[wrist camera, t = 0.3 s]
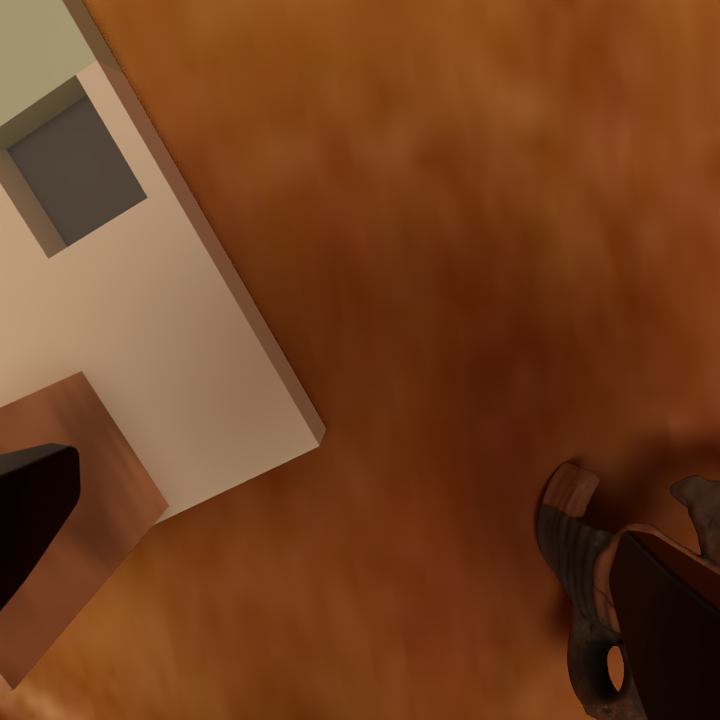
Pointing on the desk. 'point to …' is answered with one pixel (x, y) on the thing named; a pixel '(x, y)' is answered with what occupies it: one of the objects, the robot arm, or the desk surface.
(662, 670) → the robot arm
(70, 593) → the terracotta block
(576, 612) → the brown arched piece
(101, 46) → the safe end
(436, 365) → the desk surface
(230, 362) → the plate
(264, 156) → the desk surface
